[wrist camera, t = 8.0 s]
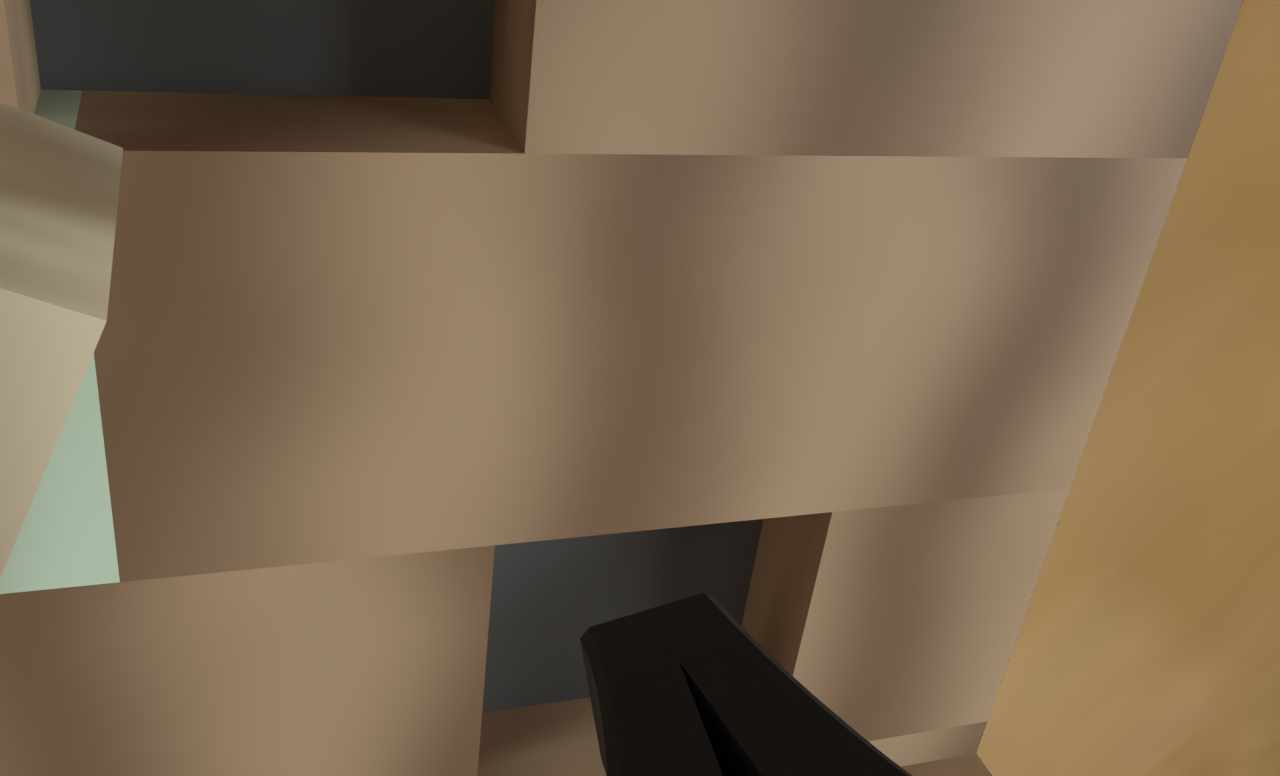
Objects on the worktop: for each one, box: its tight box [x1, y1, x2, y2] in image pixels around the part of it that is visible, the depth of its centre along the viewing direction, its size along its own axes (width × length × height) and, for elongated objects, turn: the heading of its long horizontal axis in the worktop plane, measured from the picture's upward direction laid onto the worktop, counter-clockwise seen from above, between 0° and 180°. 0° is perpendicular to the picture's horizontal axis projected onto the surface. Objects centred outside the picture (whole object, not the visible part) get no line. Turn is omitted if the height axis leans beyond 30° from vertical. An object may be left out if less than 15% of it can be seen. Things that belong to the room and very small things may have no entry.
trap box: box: [0, 0, 1243, 776], centre depth 17 cm, size 23×22×6 cm
